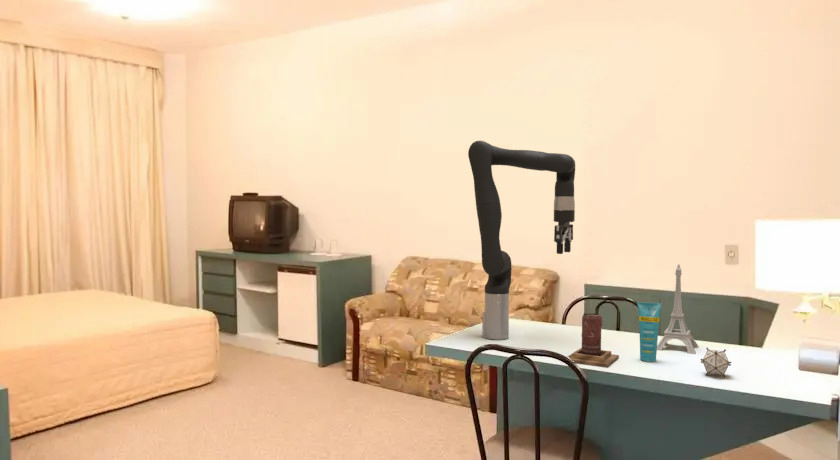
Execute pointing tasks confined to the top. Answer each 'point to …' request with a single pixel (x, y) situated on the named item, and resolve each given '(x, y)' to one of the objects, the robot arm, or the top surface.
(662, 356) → the top surface
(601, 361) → the coaster plate
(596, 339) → the can
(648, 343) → the tube
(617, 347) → the top surface
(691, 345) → the eiffel tower
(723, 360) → the game die
